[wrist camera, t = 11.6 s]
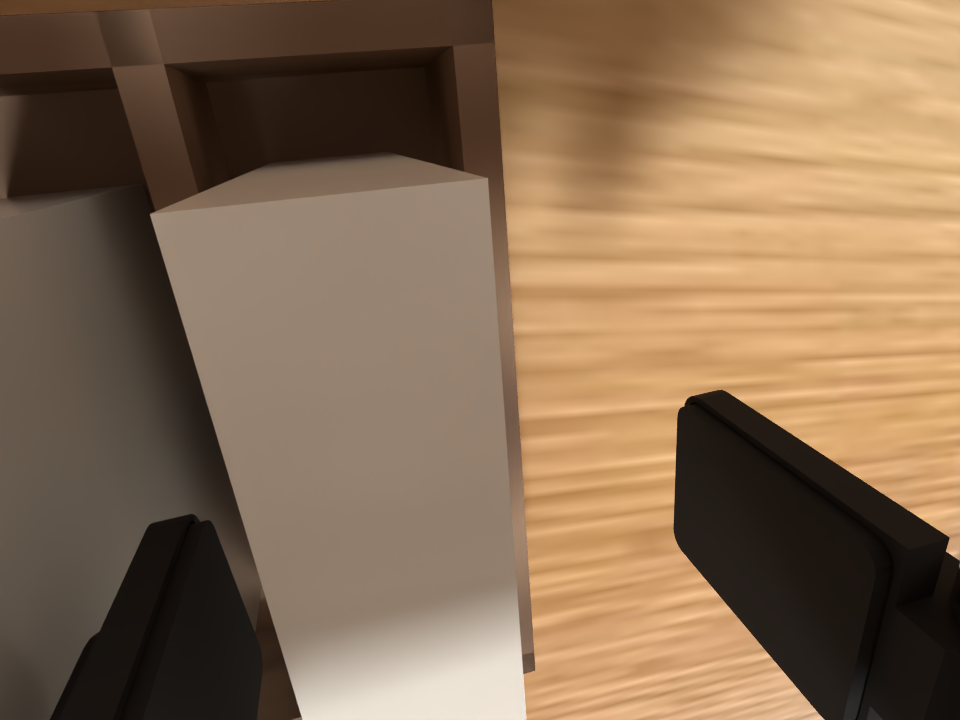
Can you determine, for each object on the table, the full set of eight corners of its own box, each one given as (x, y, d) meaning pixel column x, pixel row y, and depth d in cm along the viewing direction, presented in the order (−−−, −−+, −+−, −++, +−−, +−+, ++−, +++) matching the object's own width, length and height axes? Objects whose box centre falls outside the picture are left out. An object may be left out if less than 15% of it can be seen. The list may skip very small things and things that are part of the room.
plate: (271, 163, 14) (149, 213, 4) (387, 151, 14) (488, 178, 5) (354, 553, 18) (376, 965, 9) (439, 533, 19) (539, 905, 10)
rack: (-473, 88, 11) (-955, 59, 7) (445, 34, 14) (491, -7, 10) (-59, 704, 18) (-176, 874, 14) (496, 568, 21) (535, 670, 17)
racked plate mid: (7, 197, 12) (-839, 355, 3) (142, 183, 13) (-285, 290, 4) (168, 601, 17) (-14, 1117, 8) (263, 579, 18) (191, 1040, 9)
